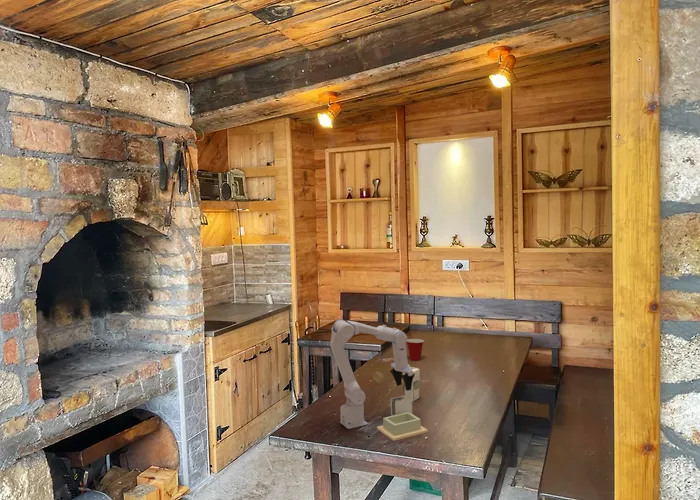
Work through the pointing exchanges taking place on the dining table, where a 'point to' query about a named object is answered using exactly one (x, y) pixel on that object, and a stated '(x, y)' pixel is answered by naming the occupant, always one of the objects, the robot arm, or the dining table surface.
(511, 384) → the dining table surface
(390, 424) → the well
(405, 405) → the bracket
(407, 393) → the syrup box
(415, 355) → the plastic cup
